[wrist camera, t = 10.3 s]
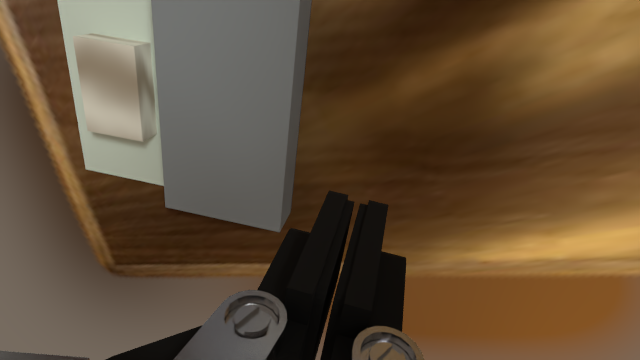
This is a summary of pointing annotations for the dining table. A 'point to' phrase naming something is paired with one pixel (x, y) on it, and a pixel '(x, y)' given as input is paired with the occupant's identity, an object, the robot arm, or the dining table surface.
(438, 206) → the dining table surface
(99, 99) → the cream tile
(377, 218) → the robot arm
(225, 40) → the slate deck
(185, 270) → the dining table surface
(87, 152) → the sage mat
